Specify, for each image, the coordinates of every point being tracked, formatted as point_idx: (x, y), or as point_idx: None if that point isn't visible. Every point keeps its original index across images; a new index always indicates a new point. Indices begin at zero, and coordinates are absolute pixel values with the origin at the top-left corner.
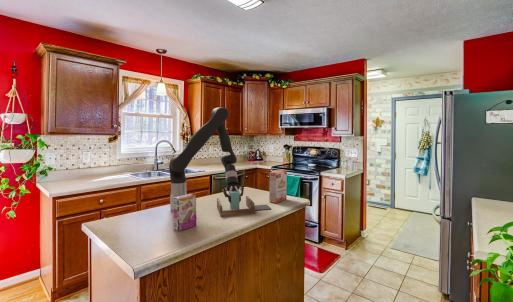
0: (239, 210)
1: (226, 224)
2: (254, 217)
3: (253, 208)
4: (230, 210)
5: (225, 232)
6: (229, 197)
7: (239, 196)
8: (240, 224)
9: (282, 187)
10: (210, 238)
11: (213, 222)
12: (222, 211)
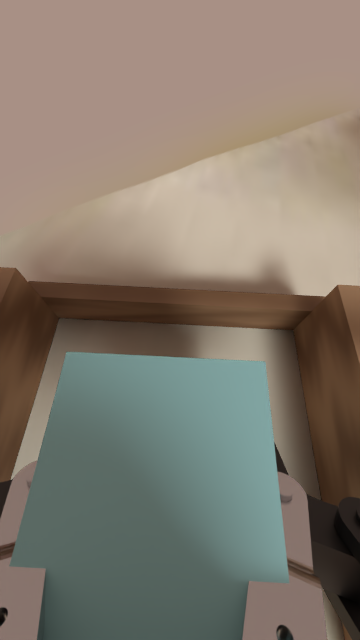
0: (163, 290)
1: (267, 199)
2: (91, 241)
3: (38, 287)
4: (240, 296)
5: (274, 140)
6: None
7: None
8: (199, 183)
9: None
10: (327, 119)
11: (340, 238)
12: (307, 297)
